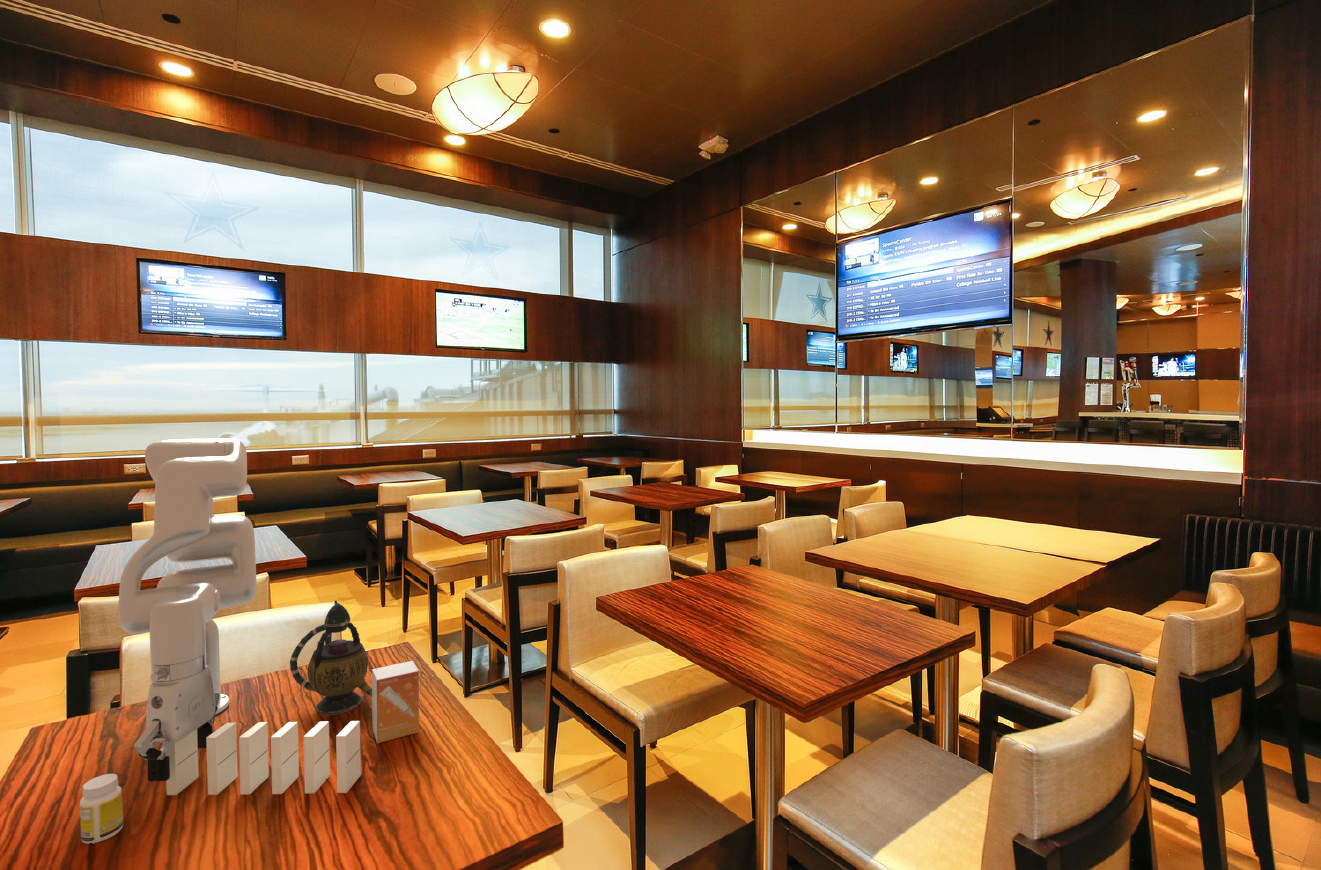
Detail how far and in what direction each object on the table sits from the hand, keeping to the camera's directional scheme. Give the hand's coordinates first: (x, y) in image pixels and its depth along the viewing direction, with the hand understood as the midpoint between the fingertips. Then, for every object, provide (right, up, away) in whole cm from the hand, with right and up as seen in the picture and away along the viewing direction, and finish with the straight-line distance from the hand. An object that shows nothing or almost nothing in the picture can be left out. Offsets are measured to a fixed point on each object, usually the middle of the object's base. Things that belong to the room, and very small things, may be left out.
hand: (182, 763), depth 104 cm
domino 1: (0, -4, 0) cm, 4 cm away
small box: (+30, -4, +18) cm, 35 cm away
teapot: (+15, -3, +28) cm, 32 cm away
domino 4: (+18, -4, 0) cm, 18 cm away
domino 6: (+29, -4, +1) cm, 29 cm away
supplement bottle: (-3, -5, -12) cm, 13 cm away
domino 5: (+23, -4, +1) cm, 24 cm away
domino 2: (+7, -4, 0) cm, 8 cm away
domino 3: (+13, -4, 0) cm, 13 cm away
